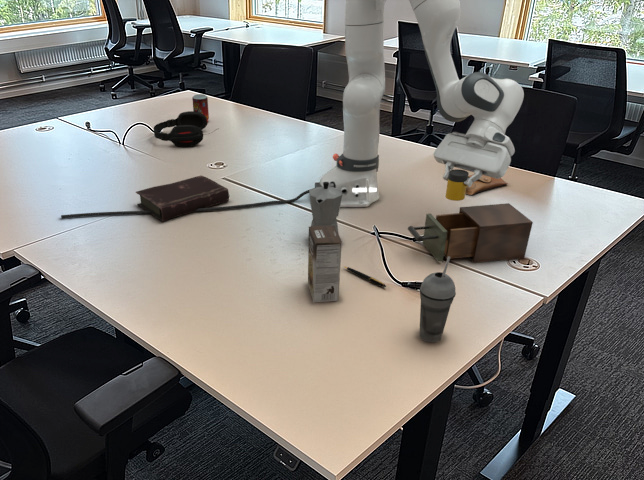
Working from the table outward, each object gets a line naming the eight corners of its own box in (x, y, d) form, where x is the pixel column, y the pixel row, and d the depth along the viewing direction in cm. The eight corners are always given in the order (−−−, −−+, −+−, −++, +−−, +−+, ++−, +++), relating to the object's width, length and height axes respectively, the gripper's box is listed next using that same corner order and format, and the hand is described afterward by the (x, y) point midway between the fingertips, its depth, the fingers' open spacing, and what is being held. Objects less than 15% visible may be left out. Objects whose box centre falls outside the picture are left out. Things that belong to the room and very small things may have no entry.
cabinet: (473, 263, 155) (480, 226, 150) (454, 241, 166) (459, 207, 160) (524, 258, 156) (533, 222, 151) (501, 237, 167) (509, 203, 161)
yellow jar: (449, 201, 157) (453, 176, 154) (442, 194, 161) (445, 170, 158) (467, 200, 158) (471, 175, 154) (459, 193, 162) (463, 168, 158)
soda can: (191, 123, 277) (189, 96, 270) (198, 119, 282) (197, 93, 276) (204, 124, 274) (202, 97, 268) (211, 120, 280) (210, 94, 273)
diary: (230, 202, 194) (229, 188, 192) (163, 223, 182) (161, 208, 180) (200, 186, 207) (199, 173, 205) (136, 205, 195) (134, 190, 192)
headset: (226, 143, 250) (225, 122, 245) (168, 153, 240) (165, 132, 235) (202, 127, 271) (201, 108, 267) (147, 136, 262) (145, 116, 257)
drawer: (417, 263, 154) (421, 233, 149) (402, 244, 163) (406, 215, 159) (485, 257, 156) (491, 227, 151) (467, 239, 165) (472, 210, 160)
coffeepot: (333, 254, 161) (336, 192, 152) (301, 249, 165) (301, 188, 155) (347, 231, 174) (350, 172, 164) (316, 227, 177) (318, 169, 167)
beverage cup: (420, 323, 132) (432, 243, 122) (452, 333, 129) (467, 252, 118) (407, 339, 127) (418, 258, 117) (440, 350, 124) (455, 267, 113)
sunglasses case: (472, 195, 193) (467, 175, 192) (456, 199, 199) (451, 180, 198) (509, 183, 200) (504, 164, 199) (493, 188, 206) (488, 169, 206)
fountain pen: (341, 269, 154) (341, 264, 154) (344, 267, 155) (344, 262, 154) (384, 289, 145) (385, 284, 144) (387, 288, 146) (388, 282, 145)
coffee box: (306, 284, 148) (307, 225, 140) (331, 282, 149) (334, 224, 140) (312, 303, 141) (314, 242, 132) (339, 301, 141) (342, 241, 133)
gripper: (445, 124, 161) (419, 167, 161) (515, 139, 148) (486, 186, 148) (452, 136, 166) (427, 178, 166) (520, 152, 153) (493, 198, 153)
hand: (456, 182), depth 157 cm, fingers closed on yellow jar, 5 cm apart
